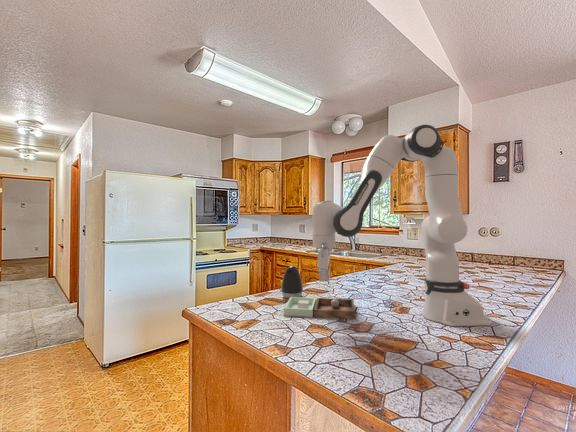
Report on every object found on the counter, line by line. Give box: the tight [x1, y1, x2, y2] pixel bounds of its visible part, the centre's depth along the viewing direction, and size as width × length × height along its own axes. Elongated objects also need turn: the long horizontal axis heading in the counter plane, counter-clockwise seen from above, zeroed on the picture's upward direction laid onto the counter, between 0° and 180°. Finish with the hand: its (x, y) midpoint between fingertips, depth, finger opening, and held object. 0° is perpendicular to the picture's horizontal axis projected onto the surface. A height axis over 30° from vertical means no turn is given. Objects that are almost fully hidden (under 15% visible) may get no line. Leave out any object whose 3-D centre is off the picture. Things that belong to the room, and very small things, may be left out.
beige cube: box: [318, 268, 331, 282], centre depth 118 cm, size 4×4×4 cm
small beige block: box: [298, 300, 309, 309], centre depth 118 cm, size 4×4×4 cm
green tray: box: [283, 296, 317, 318], centre depth 121 cm, size 11×16×4 cm
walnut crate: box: [313, 297, 356, 320], centre depth 119 cm, size 15×16×4 cm
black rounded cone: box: [280, 265, 304, 300], centre depth 140 cm, size 10×10×15 cm
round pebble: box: [331, 298, 339, 308], centre depth 123 cm, size 3×3×3 cm
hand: (324, 277), depth 118 cm, fingers closed on beige cube, 4 cm apart
